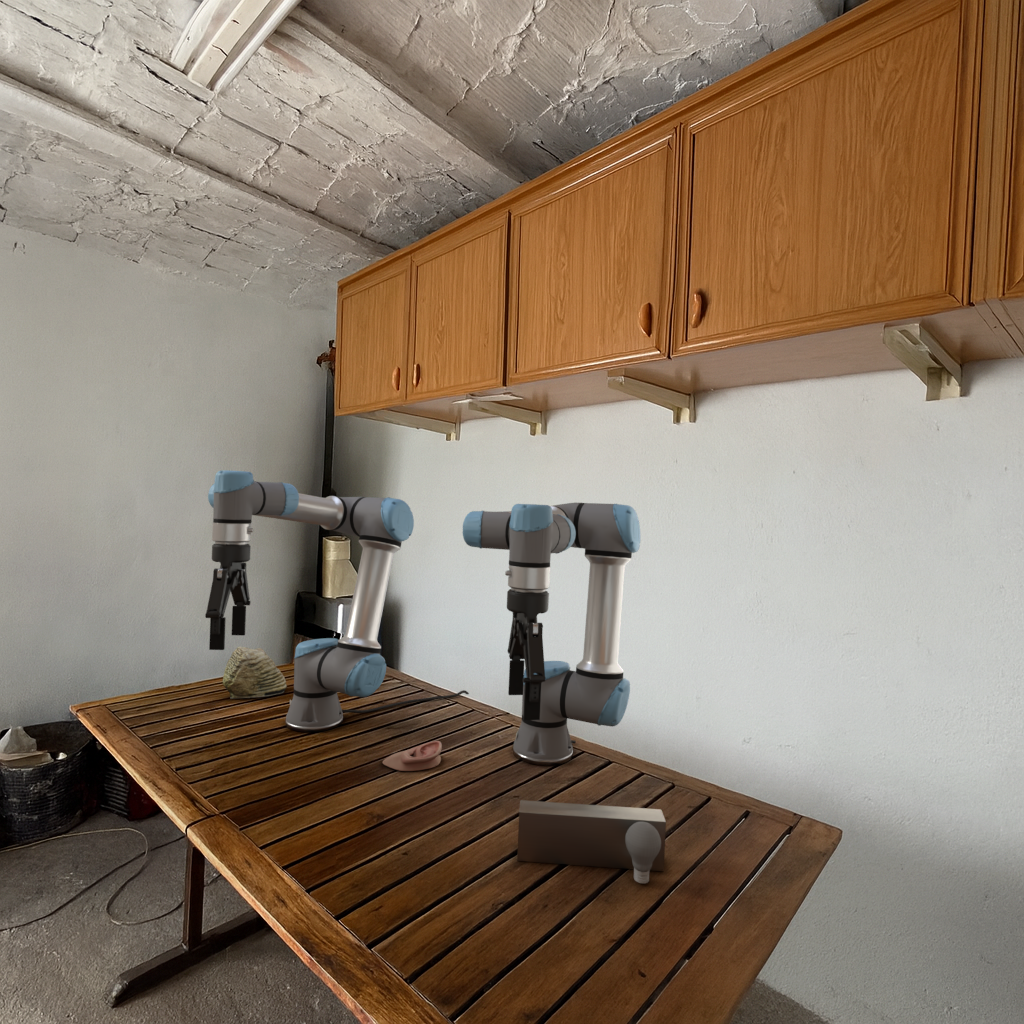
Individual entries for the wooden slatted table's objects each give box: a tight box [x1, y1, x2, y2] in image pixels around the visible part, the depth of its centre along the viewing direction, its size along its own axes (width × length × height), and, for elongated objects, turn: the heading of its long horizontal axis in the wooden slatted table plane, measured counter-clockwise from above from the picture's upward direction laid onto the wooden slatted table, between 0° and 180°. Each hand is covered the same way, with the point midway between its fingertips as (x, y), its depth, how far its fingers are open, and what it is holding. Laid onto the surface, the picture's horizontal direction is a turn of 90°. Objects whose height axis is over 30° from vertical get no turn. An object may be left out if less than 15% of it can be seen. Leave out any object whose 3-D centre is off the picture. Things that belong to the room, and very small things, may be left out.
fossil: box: [222, 646, 288, 699], centre depth 198 cm, size 9×18×15 cm, turn 132°
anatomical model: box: [382, 740, 443, 772], centre depth 153 cm, size 13×4×12 cm
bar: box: [516, 799, 667, 872], centre depth 115 cm, size 26×5×9 cm, turn 87°
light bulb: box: [625, 822, 661, 884], centre depth 108 cm, size 6×6×10 cm
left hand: (228, 642), depth 135 cm, fingers open, 13 cm apart
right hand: (523, 706), depth 115 cm, fingers open, 13 cm apart
